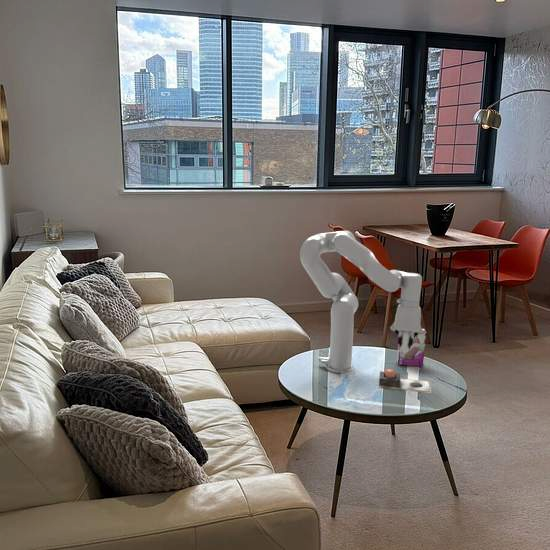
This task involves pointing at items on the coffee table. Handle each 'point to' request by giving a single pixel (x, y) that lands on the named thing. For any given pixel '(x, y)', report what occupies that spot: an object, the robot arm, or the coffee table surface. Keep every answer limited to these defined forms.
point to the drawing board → (403, 383)
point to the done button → (390, 373)
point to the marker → (405, 341)
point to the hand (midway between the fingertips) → (404, 345)
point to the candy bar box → (413, 352)
